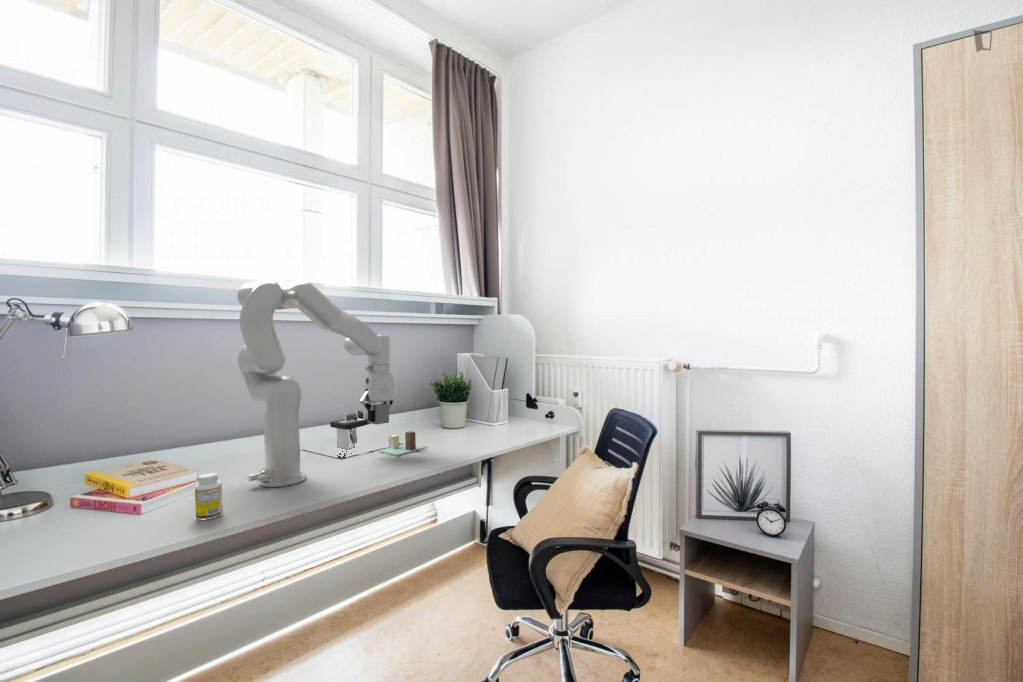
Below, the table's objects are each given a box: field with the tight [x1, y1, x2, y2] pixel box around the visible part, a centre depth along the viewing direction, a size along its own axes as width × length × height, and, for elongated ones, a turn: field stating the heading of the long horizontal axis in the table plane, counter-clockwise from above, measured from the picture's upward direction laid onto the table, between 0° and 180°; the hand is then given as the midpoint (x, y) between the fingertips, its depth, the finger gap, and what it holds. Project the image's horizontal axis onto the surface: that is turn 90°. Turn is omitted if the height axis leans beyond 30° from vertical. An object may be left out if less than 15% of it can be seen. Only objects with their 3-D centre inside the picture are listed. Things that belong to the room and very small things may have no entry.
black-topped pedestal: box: [329, 409, 372, 460], centre depth 188 cm, size 28×26×13 cm
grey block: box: [368, 402, 390, 425], centre depth 171 cm, size 5×5×7 cm
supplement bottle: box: [194, 472, 224, 520], centre depth 117 cm, size 6×6×10 cm
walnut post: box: [404, 431, 417, 451], centre depth 179 cm, size 3×3×6 cm
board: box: [378, 434, 428, 457], centre depth 180 cm, size 14×10×5 cm
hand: (378, 419), depth 171 cm, fingers closed on grey block, 5 cm apart
